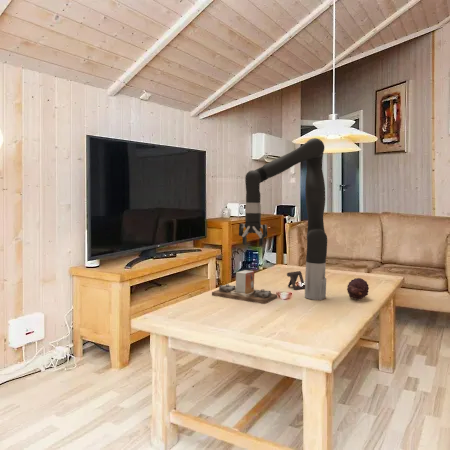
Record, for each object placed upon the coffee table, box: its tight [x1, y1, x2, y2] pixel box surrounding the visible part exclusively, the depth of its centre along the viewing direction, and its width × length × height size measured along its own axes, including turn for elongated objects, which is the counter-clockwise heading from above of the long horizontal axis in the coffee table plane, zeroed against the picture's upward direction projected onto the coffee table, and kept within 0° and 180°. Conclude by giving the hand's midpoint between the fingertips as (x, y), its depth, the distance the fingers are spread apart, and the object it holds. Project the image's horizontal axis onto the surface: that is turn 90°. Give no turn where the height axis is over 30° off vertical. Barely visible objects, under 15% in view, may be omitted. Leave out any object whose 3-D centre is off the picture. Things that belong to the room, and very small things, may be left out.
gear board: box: [211, 283, 278, 305], centre depth 204 cm, size 28×14×4 cm, turn 60°
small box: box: [235, 269, 255, 294], centre depth 203 cm, size 8×6×10 cm
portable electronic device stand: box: [286, 270, 305, 291], centre depth 224 cm, size 9×8×8 cm
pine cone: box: [346, 277, 370, 300], centre depth 204 cm, size 18×10×10 cm, turn 161°
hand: (252, 245), depth 208 cm, fingers open, 8 cm apart
